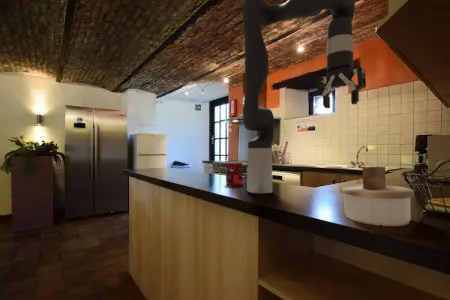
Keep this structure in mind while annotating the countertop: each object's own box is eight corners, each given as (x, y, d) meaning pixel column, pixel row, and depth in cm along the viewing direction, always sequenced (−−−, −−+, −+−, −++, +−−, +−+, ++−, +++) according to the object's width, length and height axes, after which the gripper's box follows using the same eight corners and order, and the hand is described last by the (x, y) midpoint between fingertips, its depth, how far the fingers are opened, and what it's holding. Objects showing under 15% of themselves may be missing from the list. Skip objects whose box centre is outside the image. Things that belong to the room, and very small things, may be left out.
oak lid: (327, 192, 60) (327, 167, 60) (356, 186, 69) (355, 164, 69) (400, 201, 48) (400, 170, 48) (423, 192, 58) (422, 166, 58)
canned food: (224, 183, 123) (223, 161, 123) (239, 183, 126) (238, 161, 126) (229, 185, 116) (228, 162, 116) (245, 184, 118) (244, 161, 118)
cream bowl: (334, 217, 60) (334, 192, 60) (359, 208, 68) (358, 186, 68) (397, 230, 50) (396, 200, 50) (417, 218, 58) (416, 192, 58)
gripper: (312, 58, 80) (312, 108, 80) (357, 43, 69) (358, 101, 69) (324, 62, 85) (325, 110, 85) (369, 49, 74) (370, 103, 74)
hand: (340, 106), depth 77 cm, fingers open, 8 cm apart
